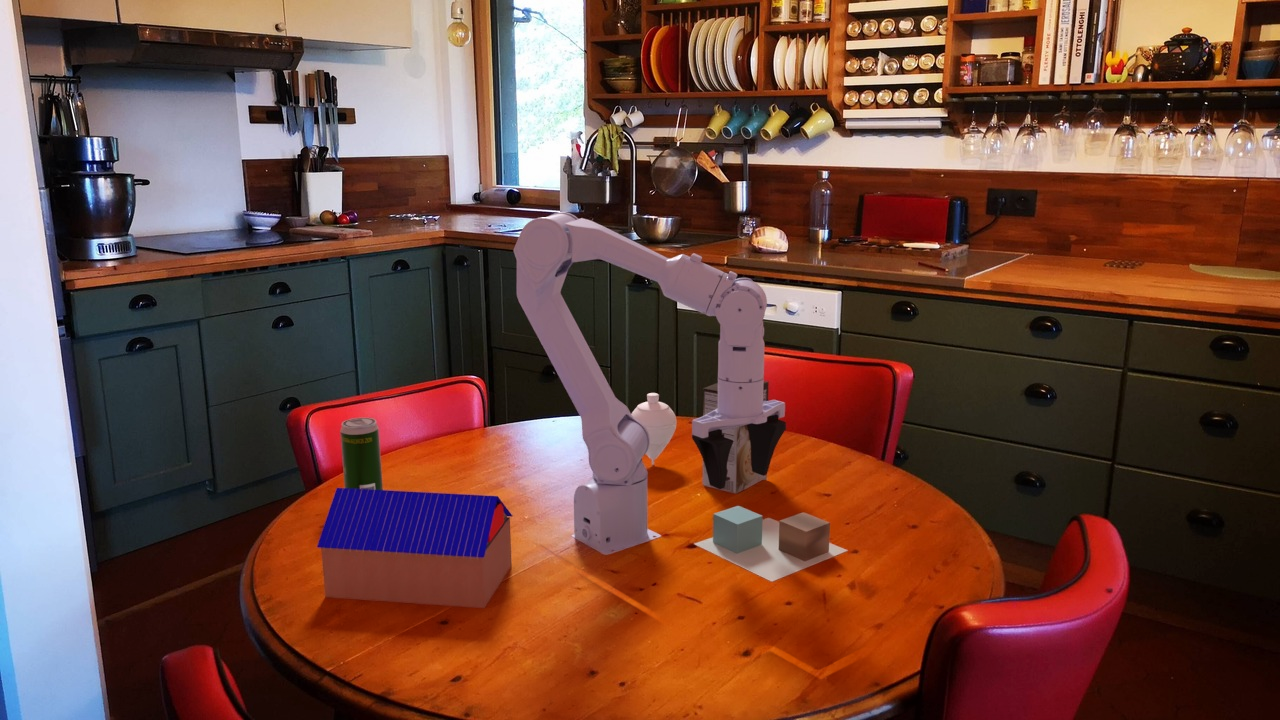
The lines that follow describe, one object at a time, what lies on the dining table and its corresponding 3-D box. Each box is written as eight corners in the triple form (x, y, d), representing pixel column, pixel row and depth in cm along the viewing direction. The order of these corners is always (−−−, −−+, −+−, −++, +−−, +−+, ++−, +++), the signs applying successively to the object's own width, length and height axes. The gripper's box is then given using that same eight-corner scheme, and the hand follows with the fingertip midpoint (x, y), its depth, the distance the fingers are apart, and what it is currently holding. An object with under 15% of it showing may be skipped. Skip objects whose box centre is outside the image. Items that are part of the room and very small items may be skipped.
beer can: (389, 500, 143) (384, 423, 140) (354, 509, 140) (348, 430, 137) (374, 490, 147) (368, 415, 144) (340, 499, 144) (333, 421, 141)
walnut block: (804, 561, 121) (806, 531, 120) (778, 549, 124) (779, 520, 123) (828, 551, 124) (830, 522, 123) (802, 540, 127) (803, 512, 126)
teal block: (736, 553, 123) (737, 524, 122) (712, 542, 127) (713, 513, 126) (761, 544, 126) (762, 515, 125) (737, 533, 129) (738, 505, 128)
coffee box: (732, 472, 154) (734, 374, 151) (767, 480, 151) (770, 381, 147) (700, 488, 147) (702, 387, 144) (736, 498, 144) (738, 393, 140)
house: (364, 556, 125) (358, 470, 122) (514, 565, 122) (511, 478, 119) (321, 599, 113) (313, 506, 111) (486, 611, 110) (482, 515, 108)
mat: (771, 586, 116) (771, 581, 116) (693, 548, 126) (693, 543, 126) (847, 554, 124) (847, 550, 124) (768, 521, 135) (768, 517, 135)
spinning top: (622, 461, 160) (621, 391, 157) (663, 454, 163) (663, 385, 160) (641, 475, 153) (641, 402, 150) (684, 468, 156) (685, 396, 153)
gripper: (720, 393, 114) (718, 501, 117) (804, 374, 122) (800, 475, 126) (681, 381, 119) (680, 485, 122) (763, 364, 128) (761, 461, 131)
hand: (738, 479), depth 124 cm, fingers open, 7 cm apart
